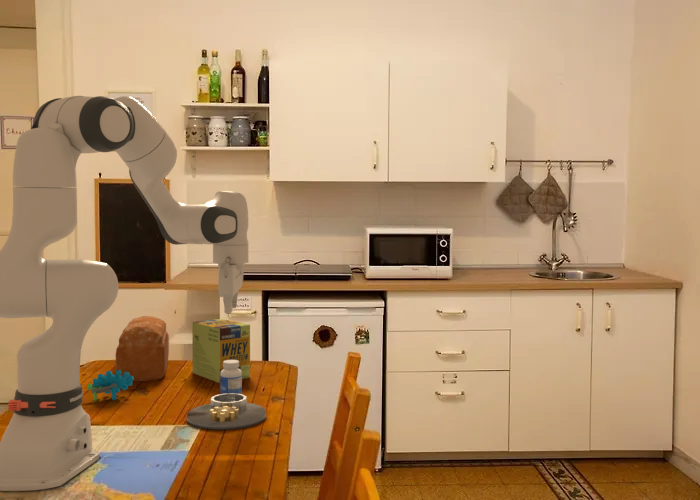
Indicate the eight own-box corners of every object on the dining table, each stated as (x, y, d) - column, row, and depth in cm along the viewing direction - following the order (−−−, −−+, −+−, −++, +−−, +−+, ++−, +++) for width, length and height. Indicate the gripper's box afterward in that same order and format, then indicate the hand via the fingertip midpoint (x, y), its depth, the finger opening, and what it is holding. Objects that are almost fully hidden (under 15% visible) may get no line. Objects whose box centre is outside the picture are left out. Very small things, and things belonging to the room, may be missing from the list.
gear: (137, 383, 179) (128, 364, 172) (138, 403, 176) (130, 384, 168) (93, 393, 177) (82, 374, 170) (94, 413, 174) (83, 395, 166)
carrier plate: (262, 429, 150) (262, 413, 150) (179, 430, 149) (179, 413, 149) (268, 406, 168) (268, 391, 168) (194, 406, 167) (194, 392, 167)
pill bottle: (218, 397, 176) (217, 359, 175) (238, 395, 178) (238, 358, 178) (223, 402, 171) (223, 364, 170) (244, 400, 173) (244, 362, 173)
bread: (113, 383, 190) (113, 327, 189) (124, 362, 215) (123, 313, 215) (165, 381, 193) (165, 326, 192) (169, 361, 218) (169, 312, 217)
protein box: (219, 383, 190) (219, 328, 189) (191, 373, 201) (191, 321, 200) (251, 377, 197) (251, 324, 196) (222, 368, 208) (222, 318, 208)
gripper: (238, 259, 162) (238, 316, 163) (247, 253, 183) (247, 304, 184) (211, 258, 162) (212, 316, 163) (223, 253, 182) (223, 304, 183)
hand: (230, 310), depth 173 cm, fingers open, 8 cm apart
